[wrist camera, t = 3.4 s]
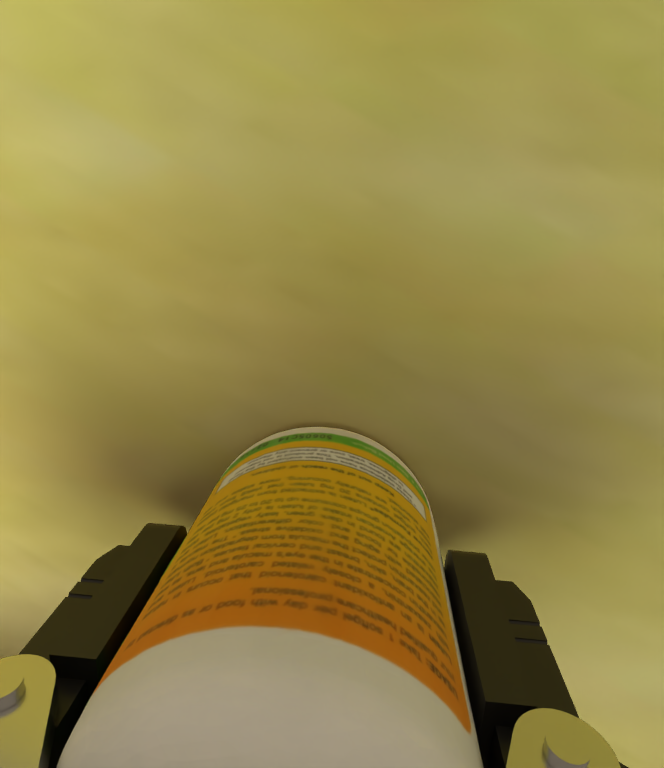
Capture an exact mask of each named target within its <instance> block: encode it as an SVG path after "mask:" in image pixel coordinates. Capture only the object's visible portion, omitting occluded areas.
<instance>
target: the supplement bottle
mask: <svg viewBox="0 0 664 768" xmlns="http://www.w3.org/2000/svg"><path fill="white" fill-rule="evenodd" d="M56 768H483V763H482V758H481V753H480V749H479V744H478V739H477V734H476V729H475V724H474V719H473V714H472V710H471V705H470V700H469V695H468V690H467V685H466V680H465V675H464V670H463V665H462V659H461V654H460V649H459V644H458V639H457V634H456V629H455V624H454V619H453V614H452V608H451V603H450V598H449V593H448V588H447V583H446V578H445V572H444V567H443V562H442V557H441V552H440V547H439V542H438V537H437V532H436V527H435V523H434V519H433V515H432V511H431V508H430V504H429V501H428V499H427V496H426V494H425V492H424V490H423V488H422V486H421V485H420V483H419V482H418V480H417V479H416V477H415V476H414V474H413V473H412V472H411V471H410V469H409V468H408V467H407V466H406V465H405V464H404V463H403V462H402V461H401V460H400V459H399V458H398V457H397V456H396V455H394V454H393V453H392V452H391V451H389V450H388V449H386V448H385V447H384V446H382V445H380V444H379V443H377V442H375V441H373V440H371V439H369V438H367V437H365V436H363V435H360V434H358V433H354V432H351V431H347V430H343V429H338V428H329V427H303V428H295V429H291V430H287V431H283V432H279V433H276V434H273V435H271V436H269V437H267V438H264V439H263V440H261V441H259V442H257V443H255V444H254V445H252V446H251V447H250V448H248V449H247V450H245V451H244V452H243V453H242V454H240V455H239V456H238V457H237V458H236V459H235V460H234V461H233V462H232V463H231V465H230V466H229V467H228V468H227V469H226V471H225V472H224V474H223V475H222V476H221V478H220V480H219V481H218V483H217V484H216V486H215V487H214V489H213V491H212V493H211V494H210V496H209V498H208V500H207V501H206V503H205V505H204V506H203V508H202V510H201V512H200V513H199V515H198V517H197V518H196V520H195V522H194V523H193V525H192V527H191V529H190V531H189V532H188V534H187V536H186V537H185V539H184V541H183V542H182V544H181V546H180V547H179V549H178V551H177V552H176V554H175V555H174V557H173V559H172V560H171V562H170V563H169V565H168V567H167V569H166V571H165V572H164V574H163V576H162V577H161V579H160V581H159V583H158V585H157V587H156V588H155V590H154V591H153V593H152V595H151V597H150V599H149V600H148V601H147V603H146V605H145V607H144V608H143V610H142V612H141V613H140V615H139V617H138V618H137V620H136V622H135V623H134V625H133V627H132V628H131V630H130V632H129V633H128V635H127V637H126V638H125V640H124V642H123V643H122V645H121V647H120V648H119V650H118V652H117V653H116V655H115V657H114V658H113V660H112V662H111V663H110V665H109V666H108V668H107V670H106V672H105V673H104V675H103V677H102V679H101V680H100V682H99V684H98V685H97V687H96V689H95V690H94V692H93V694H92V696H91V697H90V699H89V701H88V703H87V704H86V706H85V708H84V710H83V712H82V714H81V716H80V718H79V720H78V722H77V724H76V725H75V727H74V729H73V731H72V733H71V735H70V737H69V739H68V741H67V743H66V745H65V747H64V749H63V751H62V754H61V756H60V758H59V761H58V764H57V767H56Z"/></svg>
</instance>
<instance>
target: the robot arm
mask: <svg viewBox="0 0 664 768" xmlns="http://www.w3.org/2000/svg"><path fill="white" fill-rule="evenodd" d="M186 536H187V531H186V528H185V527H184V526H177V525H166V524H154V523H148V524H147V525H146V526H145V527H144V528H143V529H142V531H141V532H140V533H139V535H138V536H137V537H136V539H135V540H134V541H133V543H132V544H131V545H130V546H122V545H118V546H117V547H115V548H114V549H112V550H111V551H109V552H107V553H106V554H104V555H103V556H101V557H100V558H98V559H97V560H96V561H95V562H94V563H93V564H92V566H91V567H90V568H89V569H88V571H87V572H86V573H85V574H84V575H83V577H82V578H81V582H78V583H77V584H76V585H75V586H74V588H73V589H72V590H71V591H70V593H69V596H68V597H65V599H64V600H63V601H62V602H61V604H60V605H59V606H58V607H57V608H56V610H55V611H54V612H53V613H52V615H51V616H50V617H49V618H48V619H47V621H46V622H45V623H44V624H43V626H42V627H41V628H40V629H39V630H38V632H37V633H36V634H35V635H34V637H33V638H32V639H31V640H30V641H29V643H28V644H27V645H26V646H25V648H24V649H23V650H22V651H21V652H20V654H19V655H13V656H9V657H5V658H2V659H0V768H56V767H57V764H58V761H59V758H60V756H61V754H62V751H63V749H64V747H65V745H66V743H67V741H68V739H69V737H70V735H71V733H72V731H73V729H74V727H75V725H76V724H77V722H78V720H79V718H80V716H81V714H82V712H83V710H84V708H85V706H86V704H87V703H88V701H89V699H90V697H91V696H92V694H93V692H94V690H95V689H96V687H97V685H98V684H99V682H100V680H101V679H102V677H103V675H104V673H105V672H106V670H107V668H108V666H109V665H110V663H111V662H112V660H113V658H114V657H115V655H116V653H117V652H118V650H119V648H120V647H121V645H122V643H123V642H124V640H125V638H126V637H127V635H128V633H129V632H130V630H131V628H132V627H133V625H134V623H135V622H136V620H137V618H138V617H139V615H140V613H141V612H142V610H143V608H144V607H145V605H146V603H147V601H148V600H149V599H150V597H151V595H152V593H153V591H154V590H155V588H156V587H157V585H158V583H159V581H160V579H161V577H162V576H163V574H164V572H165V571H166V569H167V567H168V565H169V563H170V562H171V560H172V559H173V557H174V555H175V554H176V552H177V551H178V549H179V547H180V546H181V544H182V542H183V541H184V539H185V537H186ZM444 572H445V578H446V583H447V588H448V593H449V598H450V603H451V608H452V614H453V619H454V624H455V629H456V634H457V639H458V644H459V649H460V654H461V659H462V665H463V670H464V675H465V680H466V685H467V690H468V695H469V700H470V705H471V710H472V714H473V719H474V724H475V729H476V734H477V739H478V744H479V749H480V753H481V758H482V763H483V768H628V767H627V766H625V765H623V764H622V763H620V762H619V761H618V759H617V757H616V755H615V753H614V751H613V750H612V748H611V747H610V745H609V744H608V743H607V741H606V740H605V739H604V738H603V737H602V736H601V735H600V734H599V733H598V732H597V731H596V730H595V729H594V728H592V727H591V726H590V725H588V724H587V723H586V722H584V721H582V720H581V719H580V718H579V716H578V714H577V711H576V709H575V707H574V704H573V702H572V699H571V697H570V694H569V692H568V690H567V687H566V685H565V682H564V680H563V678H562V675H561V673H560V670H559V668H558V665H557V663H556V661H555V658H554V656H553V653H552V651H551V649H550V646H549V645H547V639H546V636H545V634H544V632H543V629H542V627H540V622H539V620H538V617H537V615H536V612H535V610H534V607H533V605H532V603H531V601H530V600H529V599H528V597H527V596H526V595H525V594H524V593H523V592H522V591H521V590H520V589H519V588H518V587H517V586H516V585H515V584H514V583H513V582H509V581H498V580H495V578H494V575H493V572H492V569H491V566H490V563H489V560H488V558H487V555H486V554H485V553H475V552H464V551H453V550H448V552H447V555H446V560H445V567H444Z"/></svg>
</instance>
